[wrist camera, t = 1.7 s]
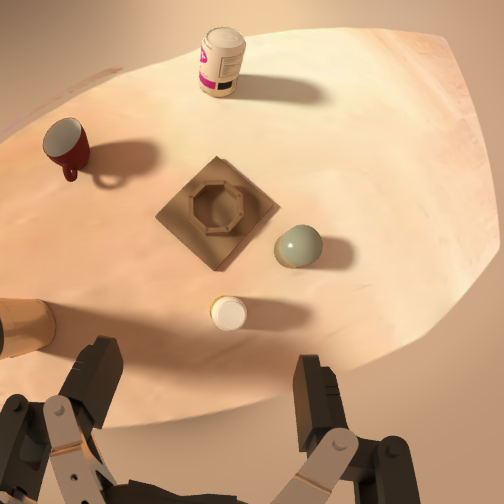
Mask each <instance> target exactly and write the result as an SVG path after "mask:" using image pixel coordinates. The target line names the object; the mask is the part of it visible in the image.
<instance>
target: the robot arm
mask: <svg viewBox="0 0 504 504" xmlns="http://www.w3.org/2000/svg"><path fill="white" fill-rule="evenodd" d="M55 327H56V325H55V319H54V316H53V313H52V311H51V310H50V308H49V307H48V306H47V305H46V304H45V303H44V302H42V301H40V300H37V299H6V298H0V360H1V359H5V358H8V357H10V358H14V357H17V356H20V355H23V354H27V353H30V352H33V351H36V350H37V349H39V348H42V347H45V346H47V345H48V344H50V343H51V341H52V340H53V338H54V335H55ZM122 372H123V359H122V356H121V353H120V350H119V347H118V344H117V341H116V339H115V338H111V337H105V336H98V337H97V339H96V341H95V343H94V344H93V346H92V345H88V346H87V347H86V348H84V349H83V350H82V351H81V352H80V354H79V356H78V357H77V359H76V362H75V363H74V365H73V367H72V369H71V370H70V372H69V374H68V376H67V378H66V380H65V382H64V384H63V386H62V388H61V390H60V392H59V394H58V395H56V396H52V397H50V398H49V399H48V400H47V401H46V402H28V400H27V399H26V398H25V397H24V396H23V395H20V394H14V395H12V396H10V397H9V398H8V399H7V400H6V402H5V404H4V406H3V408H2V410H1V413H0V504H37V500H38V496H39V492H40V488H41V484H42V480H43V476H44V473H45V469H46V466H47V463H48V459H49V456H50V460H51V464H52V467H53V470H54V473H55V476H56V479H57V482H58V485H59V487H60V490H61V493H62V495H63V498H64V501H65V503H66V504H248V503H245V502H242V501H239V500H237V496H231V495H217V494H202V495H191V496H179V495H176V494H174V493H171V492H169V491H166V490H164V489H162V488H159V487H157V486H155V485H151V484H146V483H142V482H138V481H133V480H129V483H128V484H121V485H117V483H116V481H115V479H114V478H113V476H112V475H111V473H110V472H109V470H108V469H107V466H106V464H105V462H104V460H103V458H102V456H101V453H100V450H99V448H98V446H97V443H96V441H95V438H94V435H93V433H92V432H91V431H92V429H93V427H94V428H97V429H102V426H103V423H104V420H105V417H106V415H107V412H108V409H109V406H110V404H111V401H112V398H113V396H114V393H115V391H116V388H117V385H118V383H119V380H120V378H121V375H122ZM293 394H294V403H295V413H296V423H297V433H298V443H299V452H307V461H306V462H305V463H304V465H303V466H302V467H301V469H300V470H299V471H298V472H297V473H296V474H295V476H294V477H293V478H292V479H291V480H290V482H289V483H288V484H287V485H286V486H285V488H284V489H283V490H282V491H281V492H280V494H279V495H278V496H277V497H276V498H275V499H274V500H273V501H272V502H271V504H325V502H326V501H327V500H328V498H329V497H330V495H331V492H332V489H333V488H334V486H335V484H336V483H337V482H338V480H339V479H341V480H347V481H353V483H354V493H355V504H421V503H420V497H419V492H418V487H417V482H416V477H415V472H414V467H413V463H412V458H411V454H410V450H409V446H408V444H407V443H406V441H405V440H404V439H402V438H401V437H398V436H388V437H386V438H384V439H383V440H382V441H374V440H368V439H363V438H360V437H357V436H356V435H355V434H354V433H353V432H352V431H350V430H349V428H348V426H347V423H346V418H345V413H344V409H343V405H342V400H341V397H340V392H339V388H338V383H337V379H336V375H335V374H334V373H333V371H332V370H331V369H330V367H321V366H320V361H319V357H318V355H300V356H299V359H298V363H297V366H296V370H295V374H294V378H293ZM51 449H52V452H51Z"/></svg>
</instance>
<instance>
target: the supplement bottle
mask: <svg viewBox="0 0 504 504" xmlns="http://www.w3.org/2000/svg"><path fill="white" fill-rule="evenodd" d="M210 316H211V318H212V320H213V322H214V324H215V325H216V326H217V327H218V328H219V329H221V330H223V331H228V332H231V331H236V330H238V329H239V328H241V327H242V326H243V325H244V323H245V321H246V319H247V309H246V307H245V305H244V303H243V302H242V301H241V300H240V299H238V298H236V297H233V296H221V297H218V298H217V299H215V300H214V301H213V303H212V304H211V307H210Z"/></svg>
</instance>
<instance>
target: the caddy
mask: <svg viewBox="0 0 504 504" xmlns="http://www.w3.org/2000/svg"><path fill="white" fill-rule="evenodd" d="M272 206H273V204H272V203H271V202H270V201H269V200H268V199H267V198H265V197H264V196H263V195H262V194H261V193H260V192H259V191H257V190H256V189H255V188H254V187H253V186H252V185H251V184H249V183H248V182H247V181H246V180H245V179H244V178H242V177H241V176H240V175H239V174H238V173H236V172H235V171H234V170H233V169H232V168H231V167H229V166H228V165H227V164H226V163H225V162H223V161H222V160H221V159H220V158H219V157H217V156H216V157H215V158H214V159H213V160H212V161H211V162H210V163H208V164H207V165H206V166H205V167H204V168H203V169H202V170H201V171H200V172H199V173H198V174H197V175H196V176H195V177H194V178H193V179H192V180H191V181H190V182H189V183H188V184H187V185H185V186H184V187H183V188H182V189H181V190H180V191H179V192H178V193H177V194H176V195H175V196H174V197H173V198H172V199H171V200H170V201H169V203H168V204H167V205H166V206H165V207H164V208H163V209H162V210H161V211H160V212H159V213H158V214H157V215H156V216H155V217H156V219H157V220H158V221H159V222H161V223H162V224H163V225H164V226H165V227H166V228H167V229H168V230H169V231H170V232H171V233H172V234H173V235H175V236H176V237H177V238H178V239H179V240H180V241H181V242H182V243H183V244H184V245H186V246H187V247H188V248H189V249H190V250H191V251H192V252H193V253H194V254H195V255H197V256H198V257H199V258H200V259H201V260H202V261H203V262H204V263H205V264H207V265H208V266H209V267H210V268H211V269H212V270H213V271H215V270H216V268H217V267H218V266H219V265H220V264H221V263H222V262H223V260H224V259H225V258H226V257H227V256H228V255H229V254H230V253H231V251H232V250H233V249H234V248H235V247H236V246H237V245H238V244H239V242H240V241H241V240H242V239H243V238H244V237H245V236H246V235H247V233H248V232H249V231H250V230H251V229H252V228H253V227H254V226H255V225H256V223H257V222H258V221H259V220H260V219H261V218H262V217H263V216H264V215H265V213H266V212H267V211H268V210H269V209H270V208H271V207H272Z"/></svg>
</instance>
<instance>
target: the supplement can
mask: <svg viewBox="0 0 504 504" xmlns="http://www.w3.org/2000/svg"><path fill="white" fill-rule="evenodd" d="M245 47H246V42H245V40H244V36H243V35H242V33H241V32H239V31H238V30H236V29H233V28H229V27H219V28H214V29H212V30H210V31H209V32H208V33H207V35H206V36H205V37H204V38H203V41H202V47H201V59H200V73H199V86H200V89H201V90H202V91H203V92H204V93H206V94H208V95H210V96H214V97H222V96H226V95H229V94H230V93H232V92H233V91H234V90H235V88H236V85H237V80H238V76H239V72H240V68H241V64H242V60H243V55H244V51H245Z"/></svg>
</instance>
